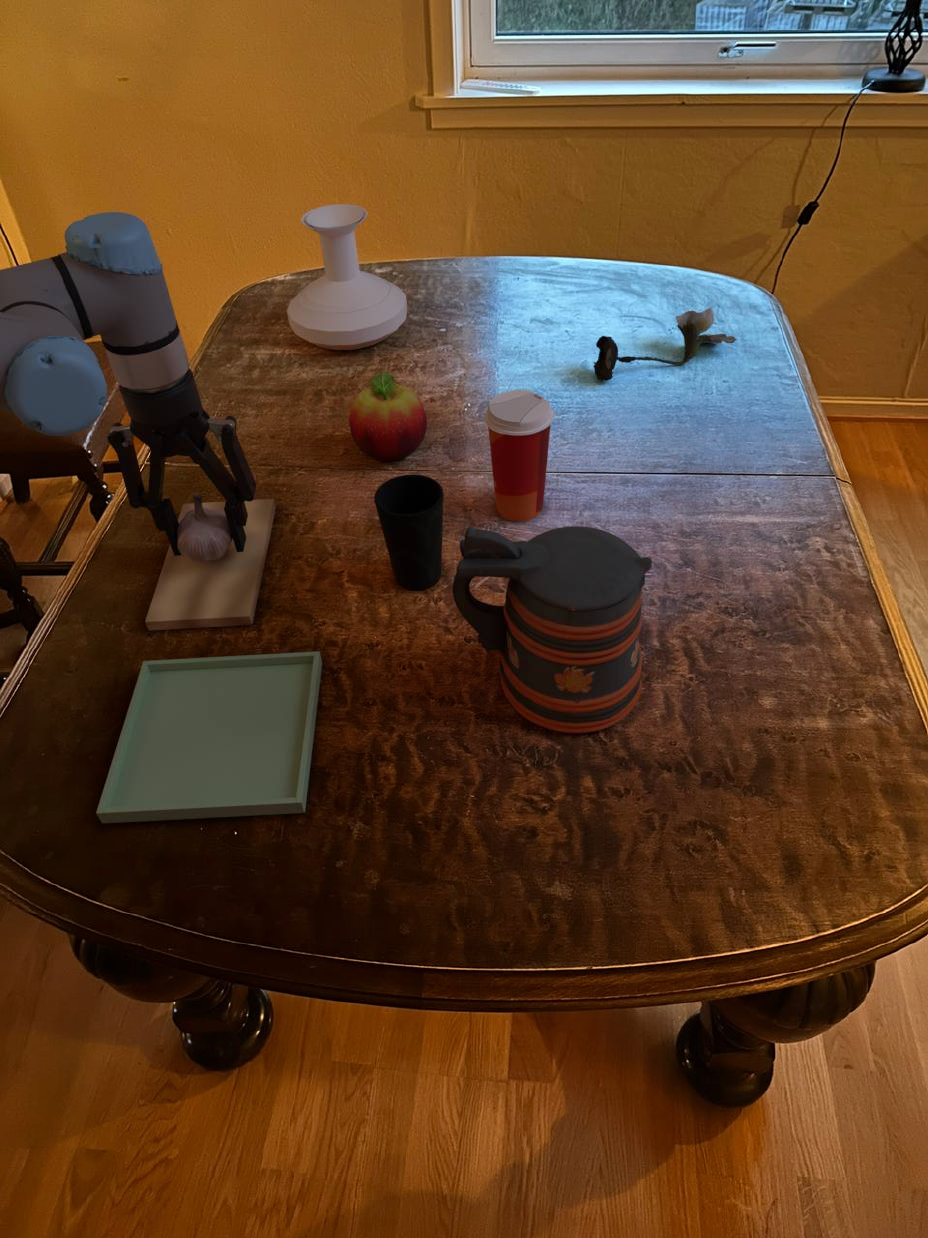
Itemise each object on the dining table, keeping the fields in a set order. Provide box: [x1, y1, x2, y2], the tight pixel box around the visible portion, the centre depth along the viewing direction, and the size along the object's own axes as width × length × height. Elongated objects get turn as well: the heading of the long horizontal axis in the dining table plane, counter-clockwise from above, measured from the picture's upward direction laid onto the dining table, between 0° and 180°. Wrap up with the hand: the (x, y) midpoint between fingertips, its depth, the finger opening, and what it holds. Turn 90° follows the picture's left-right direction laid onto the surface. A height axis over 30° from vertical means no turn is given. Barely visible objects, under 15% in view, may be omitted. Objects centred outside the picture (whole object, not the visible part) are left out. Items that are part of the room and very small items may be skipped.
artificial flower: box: [592, 306, 738, 382], centre depth 136 cm, size 9×22×10 cm, turn 106°
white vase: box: [286, 203, 408, 351], centre depth 144 cm, size 20×20×19 cm
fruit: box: [348, 370, 428, 462], centre depth 122 cm, size 11×11×10 cm
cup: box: [373, 473, 445, 592], centre depth 102 cm, size 8×8×12 cm
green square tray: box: [95, 651, 323, 824], centre depth 89 cm, size 19×19×2 cm
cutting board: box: [144, 498, 277, 632], centre depth 109 cm, size 12×22×2 cm, turn 2°
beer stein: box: [452, 525, 653, 734], centre depth 86 cm, size 19×15×20 cm
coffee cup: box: [484, 389, 555, 522], centre depth 109 cm, size 8×8×15 cm
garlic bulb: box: [177, 492, 233, 562], centre depth 104 cm, size 8×7×8 cm
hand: (210, 546), depth 107 cm, fingers closed on garlic bulb, 7 cm apart
